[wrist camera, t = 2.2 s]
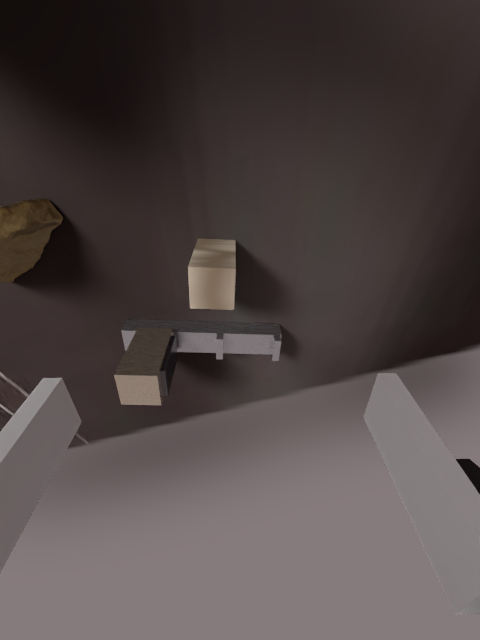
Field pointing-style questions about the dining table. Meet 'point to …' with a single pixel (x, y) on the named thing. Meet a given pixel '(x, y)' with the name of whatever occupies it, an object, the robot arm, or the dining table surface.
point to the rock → (24, 235)
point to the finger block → (212, 274)
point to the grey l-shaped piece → (181, 336)
